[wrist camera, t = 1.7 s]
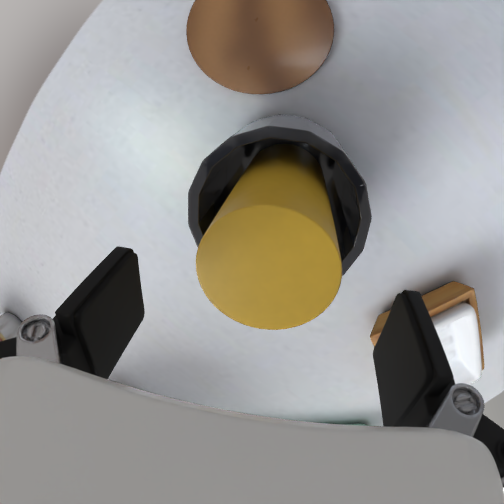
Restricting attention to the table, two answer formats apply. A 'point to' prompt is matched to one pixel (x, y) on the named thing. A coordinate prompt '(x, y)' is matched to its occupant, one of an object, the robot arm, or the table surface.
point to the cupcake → (8, 326)
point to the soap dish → (452, 329)
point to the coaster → (260, 42)
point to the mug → (295, 133)
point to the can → (273, 244)
